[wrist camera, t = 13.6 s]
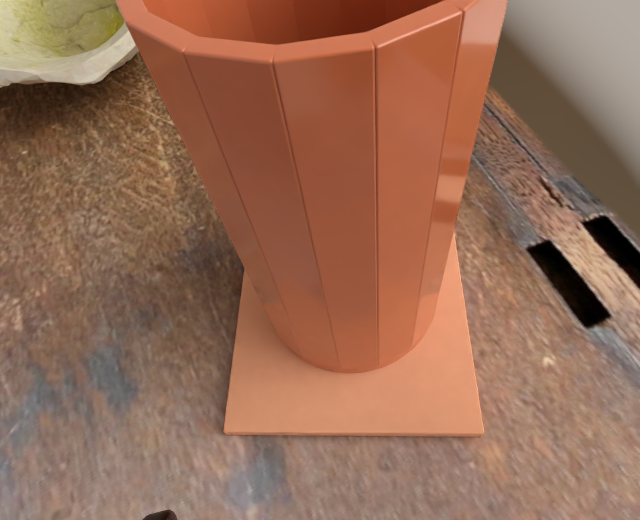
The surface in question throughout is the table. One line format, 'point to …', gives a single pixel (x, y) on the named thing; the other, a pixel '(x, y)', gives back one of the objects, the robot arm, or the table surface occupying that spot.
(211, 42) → the terracotta cup
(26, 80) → the bowl
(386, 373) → the peach mat
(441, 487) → the table surface
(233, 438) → the table surface
